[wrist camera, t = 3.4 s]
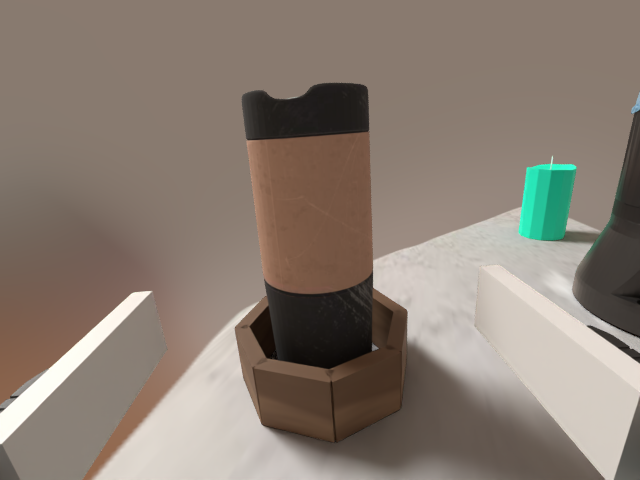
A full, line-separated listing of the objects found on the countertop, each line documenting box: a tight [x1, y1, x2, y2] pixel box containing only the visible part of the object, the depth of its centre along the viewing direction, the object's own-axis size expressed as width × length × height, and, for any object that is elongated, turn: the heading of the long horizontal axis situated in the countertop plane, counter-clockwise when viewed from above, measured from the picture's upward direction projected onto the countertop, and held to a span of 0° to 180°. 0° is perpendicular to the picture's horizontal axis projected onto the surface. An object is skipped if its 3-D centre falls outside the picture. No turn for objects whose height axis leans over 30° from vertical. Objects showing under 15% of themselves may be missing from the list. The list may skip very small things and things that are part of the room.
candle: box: [519, 156, 577, 241], centre depth 49 cm, size 6×6×12 cm
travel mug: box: [242, 83, 373, 369], centre depth 22 cm, size 8×8×20 cm
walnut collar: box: [235, 288, 407, 443], centre depth 25 cm, size 12×12×4 cm
